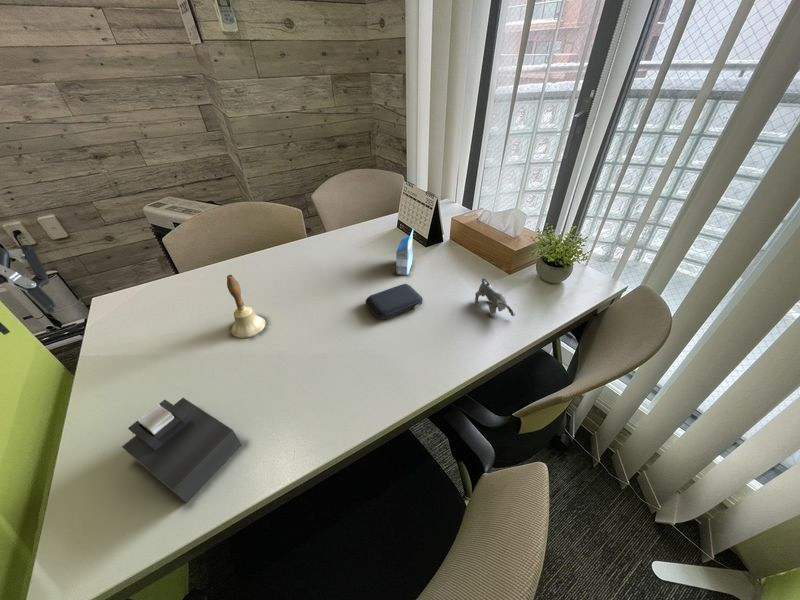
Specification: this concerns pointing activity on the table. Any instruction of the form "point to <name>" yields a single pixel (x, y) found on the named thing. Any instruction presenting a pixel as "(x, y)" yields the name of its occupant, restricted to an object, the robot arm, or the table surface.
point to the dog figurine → (492, 298)
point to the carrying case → (394, 301)
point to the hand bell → (243, 313)
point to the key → (156, 419)
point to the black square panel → (183, 448)
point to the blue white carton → (404, 255)
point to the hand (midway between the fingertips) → (29, 320)
